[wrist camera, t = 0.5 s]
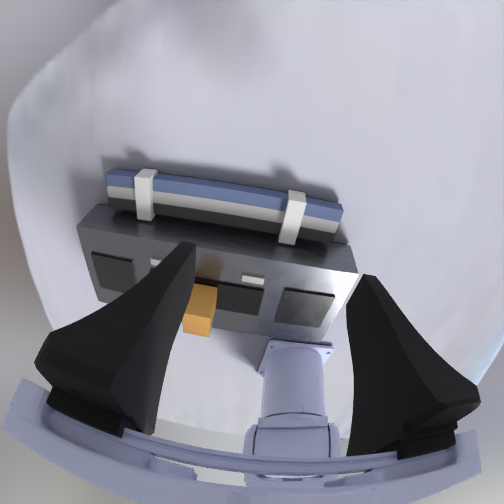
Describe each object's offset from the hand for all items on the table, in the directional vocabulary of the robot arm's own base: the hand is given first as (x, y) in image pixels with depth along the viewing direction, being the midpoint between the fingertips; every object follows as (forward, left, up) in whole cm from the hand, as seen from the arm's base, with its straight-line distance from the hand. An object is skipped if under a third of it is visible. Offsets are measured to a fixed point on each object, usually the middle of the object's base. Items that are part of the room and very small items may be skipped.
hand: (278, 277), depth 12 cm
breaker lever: (-9, +4, -6) cm, 11 cm away
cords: (-2, +4, -10) cm, 11 cm away
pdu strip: (-9, +4, -10) cm, 14 cm away
